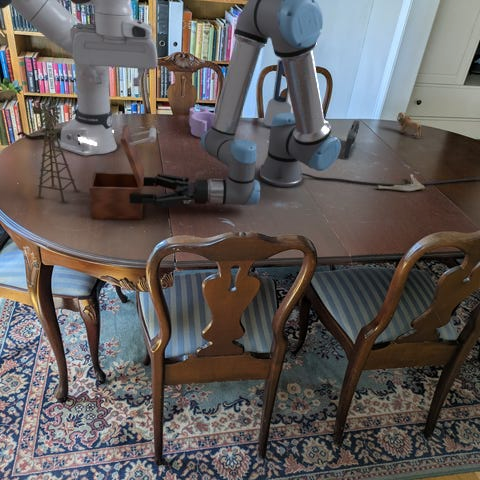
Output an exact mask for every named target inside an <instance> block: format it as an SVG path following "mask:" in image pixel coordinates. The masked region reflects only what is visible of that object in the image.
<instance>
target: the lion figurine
mask: <svg viewBox="0 0 480 480" xmlns="http://www.w3.org/2000/svg"><path fill="white" fill-rule="evenodd" d="M396 121H397V122H398V123H399V126H401V130H400V131H399V132H400V133H401V134H403V133H404V132H406V129H410V130H411V129H413V131H414V133H413V136H414V138H415V139H418V138H419V136H420V137H421V136H422V137H421V138H422V139H423V138H424V136H423V135H422V125H421V123H420V122H419V121H414V120H412V119H411V117H410V116H409V115H408V114H407V113H406V112H403V111H402V112H398V114H397V117H396ZM416 136H418V137H416Z"/></svg>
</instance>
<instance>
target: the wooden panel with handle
mask: <svg viewBox="0 0 480 480" xmlns="http://www.w3.org/2000/svg"><path fill="white" fill-rule="evenodd" d="M146 135H148V137H147V138H143V139H139V140H138V139H137V140H135V141H134V138H138V137H141V136H142V137H143V136H146ZM156 140H157V128H155V127H153V126H152V127H150V128H149V130H146V131H142V132H138V133H134V134H132V133H131V130H130V127H129V125H128V124H126V125H123V126H122V132H121V136H120V143H121V144H122V147H123V151H124V153H125V155H126V158H127V160H128V163H129V165H130V168H131V170H132V173H133V174H134V176H135V179H136V181H137V184H138V187H142V186H143V181H144V177H145V169H144V165H143V163H142V159H141V157H140V154H139V152H138V149H137V146H136V145H140V144H143V143H147V142H150V143H155V142H156ZM143 187H144V186H143Z"/></svg>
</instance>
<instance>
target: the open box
mask: <svg viewBox="0 0 480 480" xmlns="http://www.w3.org/2000/svg"><path fill="white" fill-rule="evenodd" d="M88 190H89V191H88V193H89V201H90V202H89V203H90V215H91V219H102V220H103V219H105V220H106V219H111V220H113V219H115V220H116V219H117V220H120V219H121V220H142V219H143V211H144V210H143V209H144V204H138V203H130V194H144V186H142V187H138V184H137V181H136V179H135V176H134V174H133V172H108V171H107V172H105V171H93V173H92V176H91V180H90V183H89V187H88Z"/></svg>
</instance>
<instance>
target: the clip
mask: <svg viewBox="0 0 480 480" xmlns="http://www.w3.org/2000/svg"><path fill="white" fill-rule="evenodd" d="M214 116H215V112H211V111H210V109H209V108H206V107H203V106H200V107H199V111H196V108H195V107H190V108H189V118H188V119H189V120H188V121H189V122H188V125H189V127H190V134H191V135H193V136H195V137H197V138H201V137H202V135H203V134H204V133H205V131H207V130H208V129H211V127H212V123H213V120H214Z"/></svg>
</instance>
